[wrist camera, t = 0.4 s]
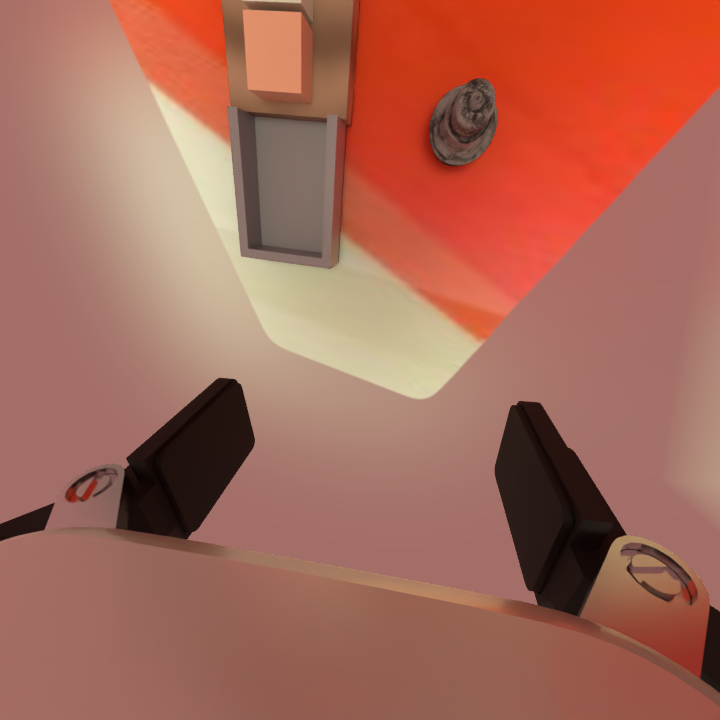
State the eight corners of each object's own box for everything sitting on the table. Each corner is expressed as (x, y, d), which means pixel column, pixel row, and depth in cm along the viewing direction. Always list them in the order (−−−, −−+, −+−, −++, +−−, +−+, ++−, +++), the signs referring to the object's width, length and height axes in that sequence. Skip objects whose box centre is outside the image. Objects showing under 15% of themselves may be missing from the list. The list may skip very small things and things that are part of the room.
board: (231, -54, 26) (215, -77, 24) (363, -51, 25) (357, -75, 23) (243, 116, 32) (231, 110, 30) (351, 125, 31) (346, 119, 29)
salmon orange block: (259, 28, 27) (242, 9, 24) (312, 31, 26) (301, 12, 24) (263, 99, 29) (247, 89, 27) (311, 103, 29) (301, 93, 26)
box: (248, 116, 32) (227, 106, 29) (346, 125, 31) (337, 115, 27) (257, 251, 39) (241, 256, 35) (338, 262, 38) (330, 268, 34)
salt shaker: (427, 172, 32) (432, 156, 21) (428, 102, 29) (433, 44, 19) (486, 165, 31) (521, 145, 20) (492, 91, 28) (536, 23, 17)
